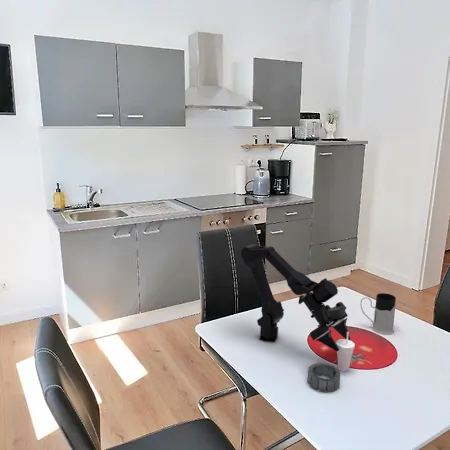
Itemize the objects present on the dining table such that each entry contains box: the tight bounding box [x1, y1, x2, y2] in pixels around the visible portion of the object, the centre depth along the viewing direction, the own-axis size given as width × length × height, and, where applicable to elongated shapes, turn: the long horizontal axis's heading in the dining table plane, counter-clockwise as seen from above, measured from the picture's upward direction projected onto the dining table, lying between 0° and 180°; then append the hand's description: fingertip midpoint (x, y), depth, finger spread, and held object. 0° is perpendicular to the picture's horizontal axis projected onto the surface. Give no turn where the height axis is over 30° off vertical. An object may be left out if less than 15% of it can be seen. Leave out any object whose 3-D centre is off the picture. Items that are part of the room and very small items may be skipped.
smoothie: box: [335, 331, 356, 372], centre depth 142 cm, size 6×6×14 cm
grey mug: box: [360, 293, 397, 336], centre depth 171 cm, size 9×14×15 cm, turn 73°
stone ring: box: [306, 362, 341, 393], centre depth 135 cm, size 10×10×4 cm
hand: (344, 345), depth 142 cm, fingers open, 9 cm apart
